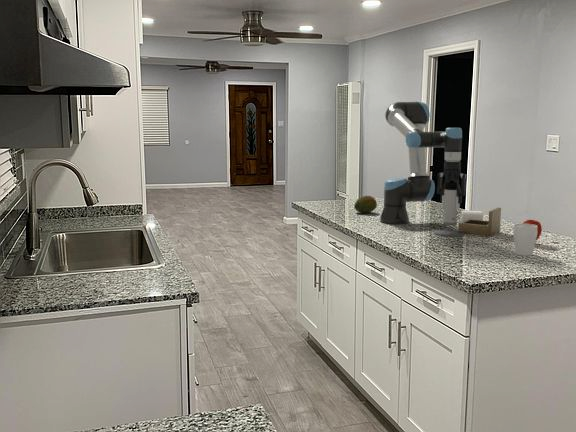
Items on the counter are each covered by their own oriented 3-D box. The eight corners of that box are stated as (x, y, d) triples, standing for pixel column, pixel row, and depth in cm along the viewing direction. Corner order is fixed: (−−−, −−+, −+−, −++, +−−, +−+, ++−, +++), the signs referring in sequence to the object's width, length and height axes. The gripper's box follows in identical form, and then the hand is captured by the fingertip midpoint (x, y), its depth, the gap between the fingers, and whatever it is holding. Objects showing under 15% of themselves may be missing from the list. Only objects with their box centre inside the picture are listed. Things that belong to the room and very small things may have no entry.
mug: (482, 228, 293) (483, 212, 291) (462, 227, 294) (462, 211, 293) (479, 223, 304) (480, 208, 303) (459, 223, 306) (460, 208, 305)
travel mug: (457, 225, 273) (458, 183, 269) (442, 224, 275) (444, 182, 271) (457, 223, 278) (459, 181, 275) (443, 222, 280) (445, 181, 277)
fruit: (379, 213, 338) (380, 196, 337) (363, 215, 331) (364, 198, 330) (366, 210, 348) (366, 194, 346) (350, 212, 341) (350, 195, 339)
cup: (508, 252, 240) (509, 223, 238) (529, 251, 241) (531, 223, 239) (518, 257, 231) (520, 227, 229) (540, 256, 232) (542, 227, 230)
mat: (429, 234, 276) (429, 233, 276) (440, 230, 287) (440, 229, 287) (458, 238, 268) (458, 237, 268) (468, 233, 279) (468, 232, 279)
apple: (517, 241, 260) (518, 217, 259) (536, 241, 260) (537, 217, 258) (524, 245, 252) (525, 221, 250) (544, 245, 252) (545, 221, 250)
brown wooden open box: (458, 233, 279) (459, 208, 277) (468, 228, 290) (469, 205, 288) (490, 237, 270) (492, 211, 268) (499, 232, 281) (501, 207, 279)
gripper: (430, 160, 274) (428, 208, 278) (470, 162, 263) (467, 212, 267) (436, 159, 280) (434, 206, 284) (475, 161, 269) (473, 210, 273)
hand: (450, 209), depth 275 cm, fingers closed on travel mug, 6 cm apart
